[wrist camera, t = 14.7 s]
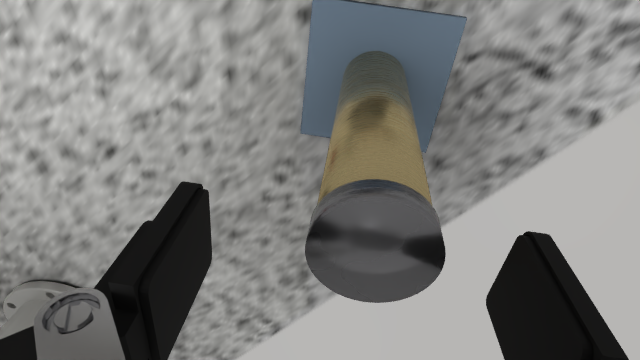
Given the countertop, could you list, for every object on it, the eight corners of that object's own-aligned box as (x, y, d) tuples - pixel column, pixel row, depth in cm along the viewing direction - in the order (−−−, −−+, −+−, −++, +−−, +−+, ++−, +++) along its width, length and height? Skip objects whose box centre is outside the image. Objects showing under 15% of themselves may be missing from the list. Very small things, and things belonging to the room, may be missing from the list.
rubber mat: (425, 149, 25) (425, 152, 24) (301, 130, 25) (300, 133, 25) (465, 16, 20) (466, 18, 20) (313, -5, 20) (313, -4, 20)
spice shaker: (414, 54, 21) (464, 214, 9) (399, 117, 23) (424, 311, 12) (346, 44, 21) (312, 190, 10) (336, 108, 23) (299, 290, 12)
